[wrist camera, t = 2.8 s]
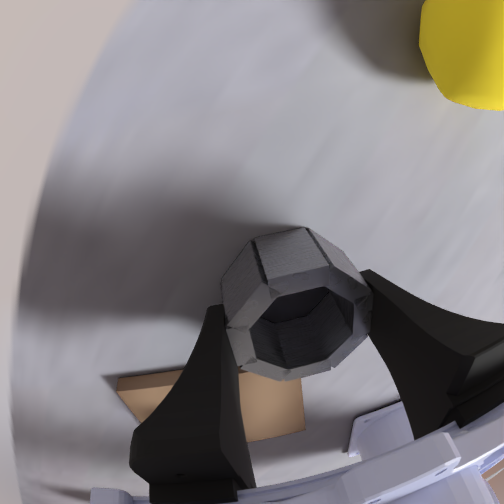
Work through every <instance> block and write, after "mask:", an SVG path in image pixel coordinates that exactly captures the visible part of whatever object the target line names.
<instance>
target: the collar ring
mask: <svg viewBox="0 0 504 504" xmlns="http://www.w3.org/2000/svg"><path fill="white" fill-rule="evenodd" d="M254 240H255V243H253V242H251V241H249V242H248V244H247V245H246V246H245V248H244V249H243V250H242V252H241V253H240V254H239V256H238V257H237V258H236V260H235V261H234V262H233V264H232V265H231V266H230V268H229V269H228V270H227V272H226V273H225V274H224V276H223V277H222V282H221V289H222V299H223V305H224V312H225V326H226V332H227V335H228V338H229V341H230V344H231V348H232V351H233V354H234V357H235V360H236V363H237V366H240V369H243V370H246V371H248V372H251V373H254V374H257V375H260V376H263V377H267V378H270V379H273V380H276V381H279V382H281V381H282V380H283V379H284V381H285V382H286V381H290V380H295V379H299V378H303V377H306V376H310V375H314V374H318V373H321V372H325V371H329V370H331V367H334V368H335V367H336V366H337V365H338V364H339V363H340V362H342V361H343V360H344V359H345V358H346V357H347V356H348V355H349V354H350V353H351V352H352V351H353V350H354V349H355V348H356V347H357V346H358V345H360V344H361V343H362V342H363V341H364V340H365V339H366V338H367V337H368V335H367V333H370V328H371V318H372V307H373V292H372V290H371V288H370V287H369V285H368V284H367V283H366V281H365V280H364V279H363V277H362V276H361V274H360V273H359V272H358V270H357V269H356V268H355V266H354V265H353V264H352V262H351V261H350V260H349V258H348V257H347V256H346V254H345V253H344V252H343V251H342V250H341V249H339V248H338V247H336V246H335V245H333V244H332V243H330V242H329V241H327V240H326V239H324V238H323V237H321V236H320V235H318V234H317V233H316V232H314V231H313V230H311V229H310V228H309V229H308V230H307V231H306V229H305V228H304V227H303V228H299V229H294V230H289V231H284V232H280V233H275V234H270V235H266V236H261V237H256V238H254ZM322 286H325V287H326V288H328V289H329V291H330V292H329V293H328V294H327V295H326V296H325V297H324V298H323V300H322V301H321V302H320V303H319V304H318V305H317V306H316V307H315V308H314V309H313V310H312V312H311V313H310V314H309V315H308V316H305V317H301V318H297V319H293V320H288V321H284V322H280V323H276V324H274V323H272V322H270V321H267V320H265V319H263V318H261V317H260V316H261V315H262V314H263V313H264V312H265V311H266V309H267V308H268V307H269V306H270V305H271V304H272V302H273V301H274V300H275V299H276V298H277V297H280V296H284V295H289V294H293V293H297V292H301V291H306V290H310V289H314V288H318V287H322Z"/></svg>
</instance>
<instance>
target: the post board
mask: <svg viewBox="0 0 504 504" xmlns="http://www.w3.org/2000/svg"><path fill="white" fill-rule="evenodd" d="M182 371H183V369H182V370H176V371H169V372H163V373H155V374H148V375H140V376H132V377H123V378H119V379H118V384H117V390H116V392H117V393H118V395H119V396H120V397H121V399H122V400H123V401H124V402H125V404H126V405H127V406H128V407H129V409H130V410H131V411H132V412H133V414H134V415H135V416H136V417H137V418H138V420H139V421H140V422H141V423H142V422H143V421H144V420H145V419H146V418H147V417H148V416H149V415H150V414H151V413H152V412H153V411H154V410H155V409H156V408H157V406H158V405H159V404H160V403H161V402H162V400H163V399H164V398H165V397H166V395H167V394H168V393H169V391H170V390H171V388H172V387H173V385H174V384H175V382H176V381H177V379H178V378H179V376H180V374H181V373H182ZM238 373H239V390H240V405H241V413H242V419H243V424H244V430H245V435H246V440H247V442H253V441H258V440H263V439H268V438H273V437H278V436H282V435H287V434H291V433H295V432H299V431H303V430H306V429H305V418H304V407H303V396H302V385H301V378H299V379H295V380H290V381H286V382H285V381H284V379H283V380H282V381H281V382H279V381H276V380H273V379H270V378H267V377H263V376H260V375H257V374H254V373H251V372H248V371H246V370H243V369H240V366H238Z"/></svg>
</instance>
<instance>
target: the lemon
mask: <svg viewBox="0 0 504 504" xmlns="http://www.w3.org/2000/svg"><path fill="white" fill-rule="evenodd" d="M419 47H420V50H421V52H422V55H423V58H424V60H425V63H426V66H427V69H428V71H429V73H430V75H431V76H432V78H433V80H434V82H435V83H436V85H437V87H438V89H439V90H440V92H441V93H442V94H443V95H444V97H445V98H447V99H449V100H451V101H453V102H455V103H459V104H462V105H465V106H468V107H472V108H475V109H486V110H497V111H501V110H504V0H426V1H425V2H424V4H423V5H422V10H421V21H420V35H419Z"/></svg>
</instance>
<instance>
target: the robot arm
mask: <svg viewBox="0 0 504 504" xmlns="http://www.w3.org/2000/svg"><path fill="white" fill-rule="evenodd" d="M359 273H360V274H361V276H362V277H363V279H364V280H365V281H366V283H367V284H368V285H369V287H370V288H371V290H372V292H373V307H372V318H371V328H370V333H367V334H368V335H369V337H370V339H371V340H372V342H373V344H374V345H375V347H376V349H377V350H378V352H379V354H380V355H381V357H382V359H383V360H384V362H385V364H386V365H387V367H388V369H389V371H390V373H391V376H392V378H393V380H394V382H395V385H396V387H397V390H398V392H399V395H400V397H401V400H402V401H401V402H398V403H396V404H393V405H391V406H388V407H385V408H383V409H380V410H377V411H374V412H372V413H369V414H366V415H363V416H360V417H358V418H356V419H355V420H354V423H353V428H352V434H351V439H350V444H349V449H348V456H349V457H353V456H356V455H359V454H360V456H361V459H362V461H361V462H358V463H355V464H352V465H349V466H345V467H342V468H339V469H336V470H332V471H329V472H325V473H322V474H318V475H314V476H310V477H306V478H302V479H298V480H294V481H289V482H284V483H280V484H275V485H269V486H264V487H258V488H257V487H256V483H255V478H254V474H253V469H252V465H251V460H250V455H249V450H248V445H247V440H246V435H245V430H244V424H243V419H242V413H241V405H240V390H239V373H238V366H237V363H236V360H235V357H234V354H233V351H232V348H231V344H230V341H229V338H228V335H227V332H226V326H225V312H224V305H223V304H219V305H214V306H209V307H208V309H207V312H206V316H205V320H204V323H203V326H202V329H201V332H200V334H199V337H198V340H197V342H196V345H195V347H194V349H193V351H192V353H191V356H190V358H189V360H188V362H187V364H186V366H185V367H184V369H183V371H182V373H181V374H180V376H179V378H178V379H177V381H176V382H175V384H174V385H173V387H172V388H171V390H170V391H169V393H168V394H167V395H166V397H165V398H164V399H163V400H162V402H161V403H160V404H159V405H158V406H157V408H156V409H155V410H154V411H153V412H152V413H151V414H150V415H149V416H148V417H147V418H146V419H145V420H144V421H143V422H142V423H141V424H140V425H139V426H138V427H137V428H136V429H135V430H134V432H133V437H132V441H131V446H130V459H129V465H130V468H131V469H132V470H133V471H134V472H135V473H136V474H137V475H139V476H140V477H141V478H143V479H144V480H145V481H146V482H148V483H149V497H136V496H131V495H130V494H129V493H127V492H126V491H123V490H119V489H109V488H95V487H93V488H91V494H90V504H500V503H499V501H498V499H497V497H496V495H495V493H494V491H493V490H492V488H491V486H490V485H489V483H488V482H487V481H486V480H485V479H483V478H482V476H481V474H483V473H484V472H485V471H487V470H489V469H490V468H491V467H493V466H494V465H495V464H497V463H498V462H499V461H501V460H502V459H503V458H504V324H502V323H494V322H487V321H482V320H477V319H473V318H469V317H465V316H462V315H459V314H456V313H453V312H450V311H447V310H444V309H442V308H439V307H437V306H435V305H432V304H430V303H428V302H426V301H424V300H422V299H420V298H418V297H416V296H414V295H412V294H410V293H409V292H407V291H405V290H403V289H402V288H400V287H398V286H397V285H395V284H393V283H392V282H390V281H388V280H387V279H385V278H383V277H382V276H380V275H379V274H377V273H375V272H373V271H372V270H370V269H369V270H365V271H361V272H359Z"/></svg>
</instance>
